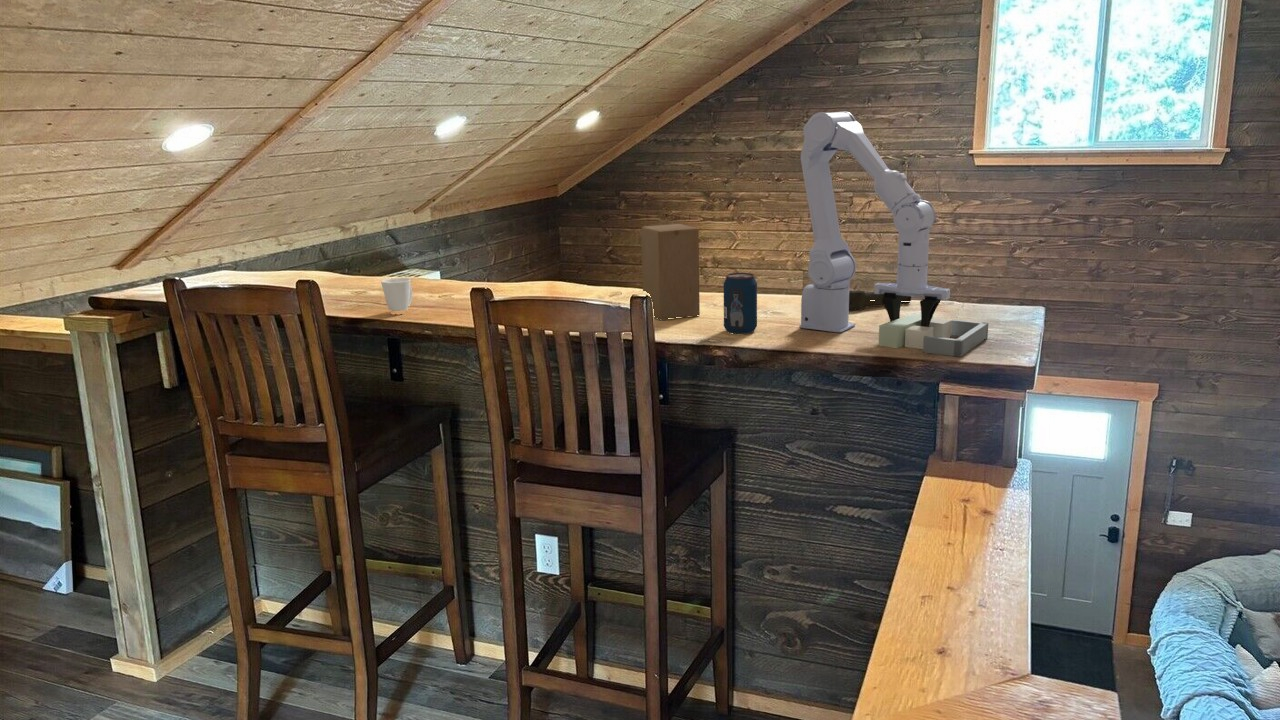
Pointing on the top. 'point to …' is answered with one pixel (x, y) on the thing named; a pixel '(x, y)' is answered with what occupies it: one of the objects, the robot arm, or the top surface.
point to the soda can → (740, 303)
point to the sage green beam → (897, 330)
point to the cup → (397, 293)
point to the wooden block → (671, 269)
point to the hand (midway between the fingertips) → (909, 332)
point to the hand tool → (867, 300)
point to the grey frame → (969, 339)
